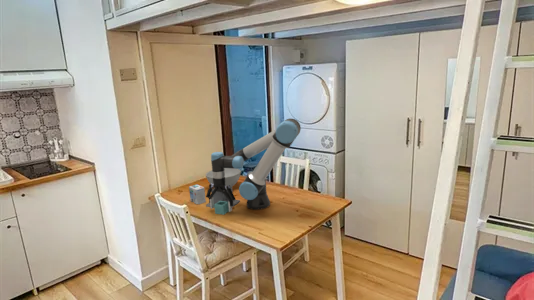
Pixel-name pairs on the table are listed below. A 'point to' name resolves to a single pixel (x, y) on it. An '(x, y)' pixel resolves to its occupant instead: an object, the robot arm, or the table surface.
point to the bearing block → (221, 198)
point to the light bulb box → (197, 194)
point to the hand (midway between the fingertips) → (221, 209)
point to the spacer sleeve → (221, 207)
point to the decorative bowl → (226, 176)
